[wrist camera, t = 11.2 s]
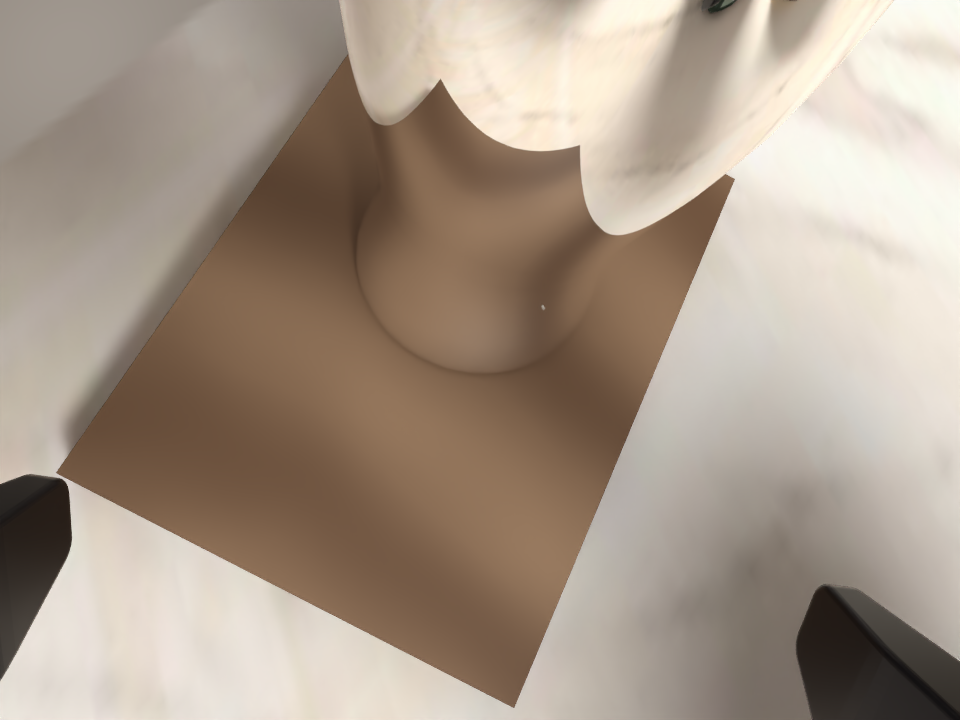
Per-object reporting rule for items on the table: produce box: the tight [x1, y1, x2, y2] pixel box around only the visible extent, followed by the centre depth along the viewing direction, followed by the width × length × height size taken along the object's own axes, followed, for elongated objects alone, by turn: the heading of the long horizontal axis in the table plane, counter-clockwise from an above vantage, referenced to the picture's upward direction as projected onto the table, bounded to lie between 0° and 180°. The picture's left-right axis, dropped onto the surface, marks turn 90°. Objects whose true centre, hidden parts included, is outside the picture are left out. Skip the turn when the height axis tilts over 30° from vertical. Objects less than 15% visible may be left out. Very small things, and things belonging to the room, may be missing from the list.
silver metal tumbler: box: [339, 0, 894, 374], centre depth 13 cm, size 7×7×15 cm
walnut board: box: [56, 55, 735, 708], centre depth 20 cm, size 15×11×1 cm
